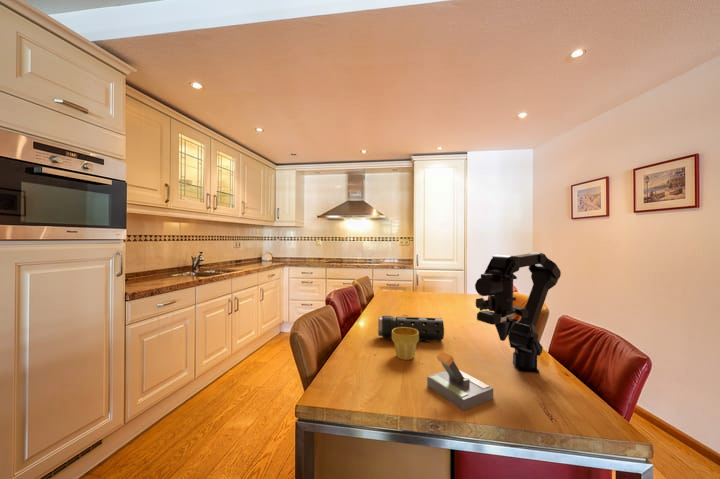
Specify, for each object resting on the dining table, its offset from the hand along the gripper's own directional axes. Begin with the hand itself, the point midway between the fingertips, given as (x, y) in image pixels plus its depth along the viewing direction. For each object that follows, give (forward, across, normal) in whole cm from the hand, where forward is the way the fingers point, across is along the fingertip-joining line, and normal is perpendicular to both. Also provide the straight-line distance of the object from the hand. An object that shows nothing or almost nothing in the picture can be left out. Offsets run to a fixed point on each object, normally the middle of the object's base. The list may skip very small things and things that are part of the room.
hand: (502, 340), depth 93 cm
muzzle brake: (+12, +6, -40) cm, 43 cm away
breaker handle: (+9, +20, 0) cm, 22 cm away
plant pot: (+12, +19, -27) cm, 35 cm away
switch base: (+12, +20, 0) cm, 23 cm away
